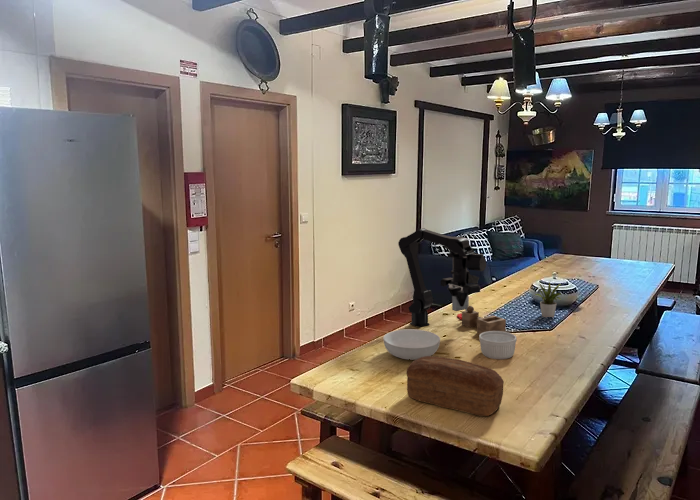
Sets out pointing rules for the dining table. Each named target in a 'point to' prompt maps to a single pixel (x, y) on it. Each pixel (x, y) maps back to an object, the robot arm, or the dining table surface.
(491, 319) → the wooden hollow frame
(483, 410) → the bread
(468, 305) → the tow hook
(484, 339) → the ramekin
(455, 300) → the tall grey upright block
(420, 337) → the serving bowl
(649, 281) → the dining table surface
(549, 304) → the house plant
